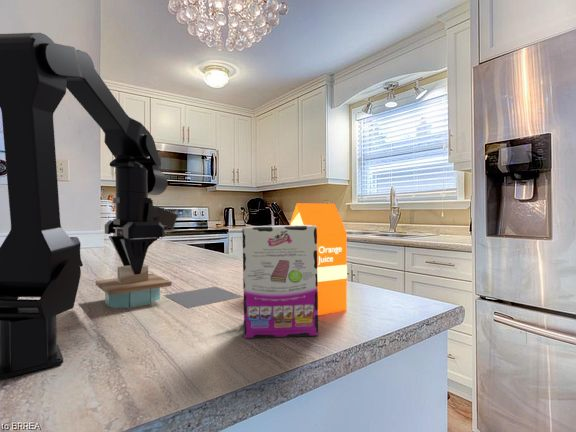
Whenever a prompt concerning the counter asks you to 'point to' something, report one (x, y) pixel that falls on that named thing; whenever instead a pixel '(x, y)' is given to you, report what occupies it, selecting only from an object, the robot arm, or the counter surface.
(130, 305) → the bowl
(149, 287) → the lid
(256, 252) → the candy bar box
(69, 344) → the counter surface
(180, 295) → the mat
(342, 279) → the orange juice
